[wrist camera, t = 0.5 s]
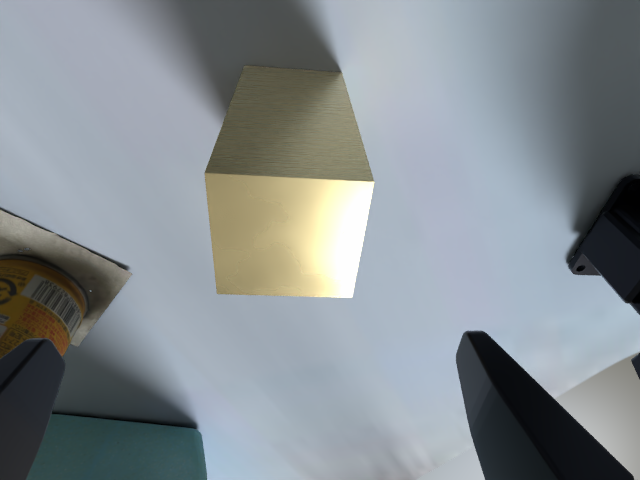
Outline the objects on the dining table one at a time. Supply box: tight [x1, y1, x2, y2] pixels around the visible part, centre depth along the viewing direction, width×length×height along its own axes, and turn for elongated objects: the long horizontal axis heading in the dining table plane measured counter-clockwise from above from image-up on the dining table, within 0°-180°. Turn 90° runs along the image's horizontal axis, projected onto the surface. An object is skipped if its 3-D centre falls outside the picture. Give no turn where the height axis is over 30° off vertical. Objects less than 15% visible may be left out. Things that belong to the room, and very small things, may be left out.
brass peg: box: [205, 65, 374, 298], centre depth 14 cm, size 4×4×9 cm
